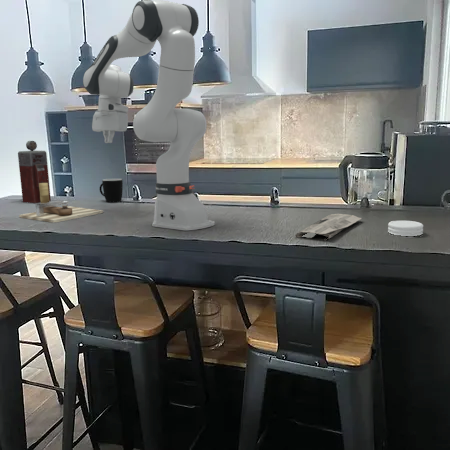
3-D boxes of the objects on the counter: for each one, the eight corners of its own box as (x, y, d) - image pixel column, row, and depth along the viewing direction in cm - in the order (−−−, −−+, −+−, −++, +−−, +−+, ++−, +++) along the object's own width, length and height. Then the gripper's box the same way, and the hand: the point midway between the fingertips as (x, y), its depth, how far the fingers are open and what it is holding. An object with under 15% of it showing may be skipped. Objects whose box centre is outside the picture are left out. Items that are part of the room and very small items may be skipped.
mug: (127, 200, 220) (126, 178, 218) (115, 203, 212) (114, 180, 210) (107, 199, 225) (105, 178, 223) (94, 202, 217) (92, 180, 215)
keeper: (74, 214, 181) (73, 200, 180) (52, 218, 173) (51, 204, 172) (58, 211, 186) (57, 198, 185) (36, 215, 178) (35, 202, 177)
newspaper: (328, 219, 171) (328, 209, 170) (363, 222, 165) (363, 212, 164) (293, 240, 140) (293, 228, 140) (335, 244, 134) (335, 232, 134)
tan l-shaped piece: (75, 213, 180) (72, 184, 178) (64, 215, 176) (61, 186, 174) (48, 209, 189) (46, 182, 187) (37, 211, 185) (34, 183, 183)
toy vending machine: (38, 203, 215) (32, 141, 210) (22, 202, 221) (16, 141, 215) (54, 200, 223) (49, 140, 217) (38, 199, 228) (33, 140, 223)
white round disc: (427, 233, 144) (428, 222, 144) (415, 239, 137) (416, 228, 136) (395, 229, 151) (396, 218, 150) (382, 235, 144) (382, 223, 143)
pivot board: (103, 212, 188) (103, 210, 188) (54, 222, 170) (53, 220, 170) (69, 208, 200) (68, 206, 200) (19, 217, 181) (19, 214, 181)
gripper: (88, 107, 194) (87, 142, 195) (117, 105, 180) (116, 142, 181) (102, 110, 198) (101, 143, 200) (131, 107, 184) (129, 143, 186)
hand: (108, 142), depth 190 cm, fingers closed
